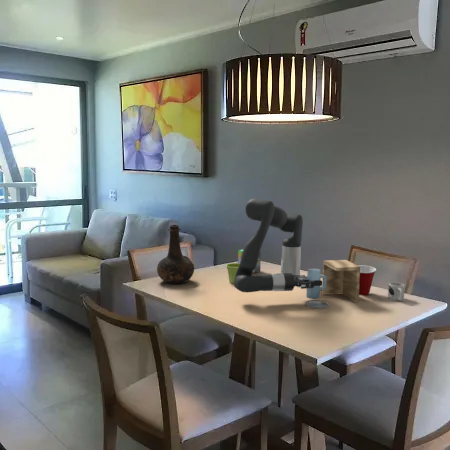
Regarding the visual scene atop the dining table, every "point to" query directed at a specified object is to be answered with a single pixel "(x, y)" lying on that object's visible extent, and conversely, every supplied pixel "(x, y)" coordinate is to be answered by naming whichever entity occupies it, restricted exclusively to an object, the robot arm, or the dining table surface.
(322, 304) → the coaster
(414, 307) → the dining table surface
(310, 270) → the light blue piece
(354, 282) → the shelf
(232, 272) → the plant pot
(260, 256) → the chalk box
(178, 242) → the glass bottle
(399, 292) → the mug
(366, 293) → the plastic cup
